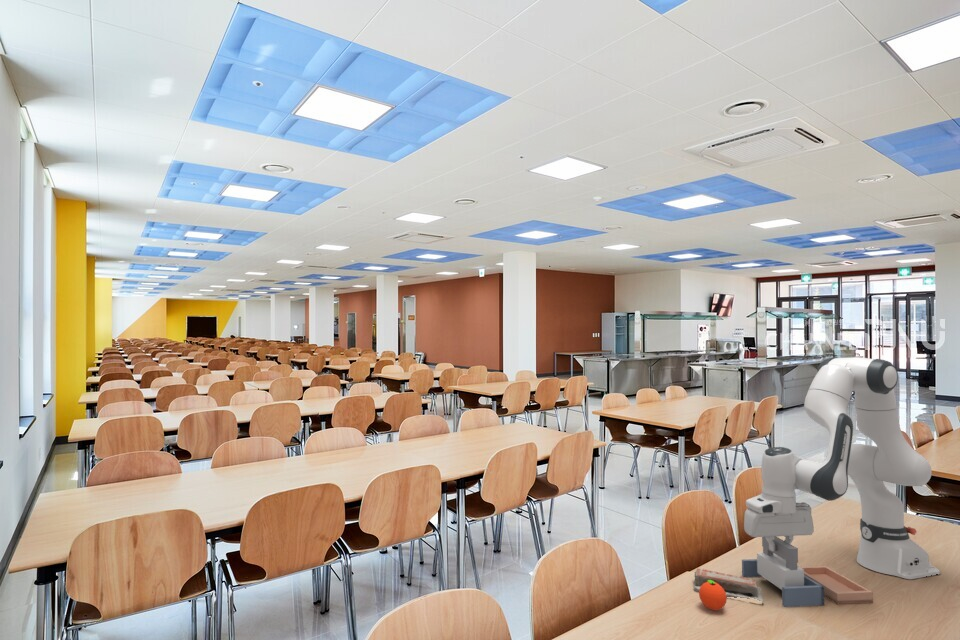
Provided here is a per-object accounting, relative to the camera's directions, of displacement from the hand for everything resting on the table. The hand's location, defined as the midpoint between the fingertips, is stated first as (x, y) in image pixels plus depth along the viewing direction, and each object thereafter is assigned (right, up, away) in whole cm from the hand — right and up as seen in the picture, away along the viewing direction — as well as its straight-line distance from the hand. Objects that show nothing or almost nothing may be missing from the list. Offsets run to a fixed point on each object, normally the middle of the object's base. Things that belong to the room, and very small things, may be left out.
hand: (779, 550), depth 152 cm
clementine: (-25, -11, -11) cm, 30 cm away
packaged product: (-16, -12, -2) cm, 20 cm away
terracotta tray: (+16, -12, 0) cm, 20 cm away
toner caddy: (0, -9, 0) cm, 9 cm away
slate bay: (0, -11, -1) cm, 12 cm away
